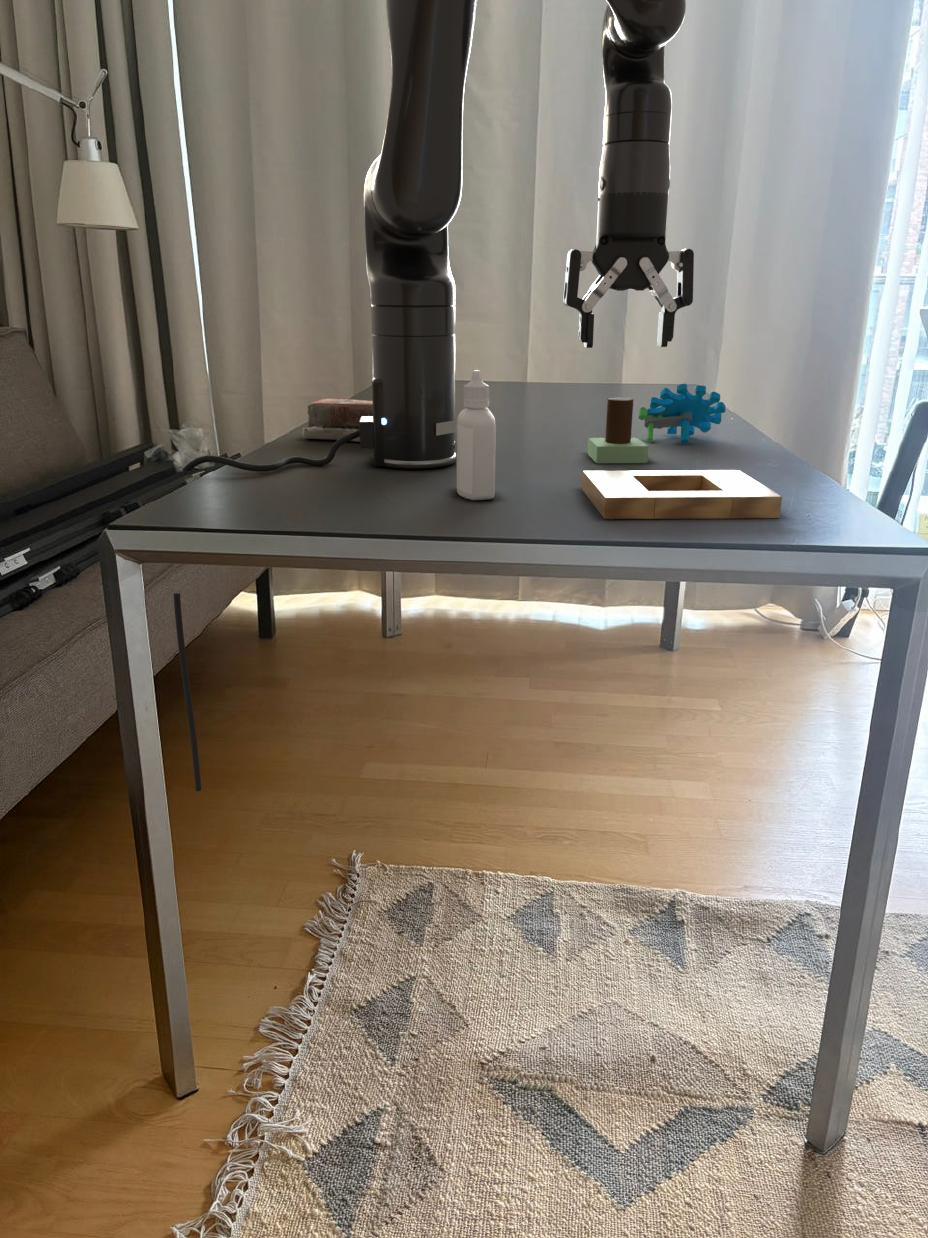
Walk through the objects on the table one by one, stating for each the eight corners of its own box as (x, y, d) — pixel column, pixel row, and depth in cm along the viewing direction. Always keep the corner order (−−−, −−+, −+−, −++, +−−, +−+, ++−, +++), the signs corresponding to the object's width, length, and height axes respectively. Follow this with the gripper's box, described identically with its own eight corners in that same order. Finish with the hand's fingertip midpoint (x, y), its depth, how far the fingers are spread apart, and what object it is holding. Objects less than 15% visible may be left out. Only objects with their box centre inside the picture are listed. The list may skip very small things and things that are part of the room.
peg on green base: (596, 463, 108) (599, 402, 106) (587, 454, 114) (590, 395, 111) (647, 463, 108) (652, 402, 106) (636, 453, 114) (640, 395, 112)
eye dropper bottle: (447, 500, 90) (447, 372, 86) (459, 487, 95) (460, 367, 91) (491, 502, 89) (494, 373, 85) (502, 490, 95) (504, 368, 90)
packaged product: (298, 402, 120) (326, 393, 129) (300, 440, 122) (327, 428, 131) (433, 407, 116) (452, 397, 126) (433, 446, 118) (452, 434, 127)
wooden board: (604, 519, 84) (605, 497, 83) (582, 490, 95) (583, 470, 94) (779, 518, 84) (782, 496, 84) (737, 489, 96) (739, 469, 95)
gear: (728, 424, 125) (722, 375, 117) (727, 460, 123) (721, 413, 114) (645, 431, 129) (634, 384, 121) (643, 466, 127) (631, 421, 118)
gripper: (688, 194, 105) (677, 344, 110) (563, 194, 104) (558, 345, 110) (708, 188, 98) (695, 349, 103) (573, 188, 97) (568, 350, 103)
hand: (624, 346), depth 107 cm, fingers open, 8 cm apart
